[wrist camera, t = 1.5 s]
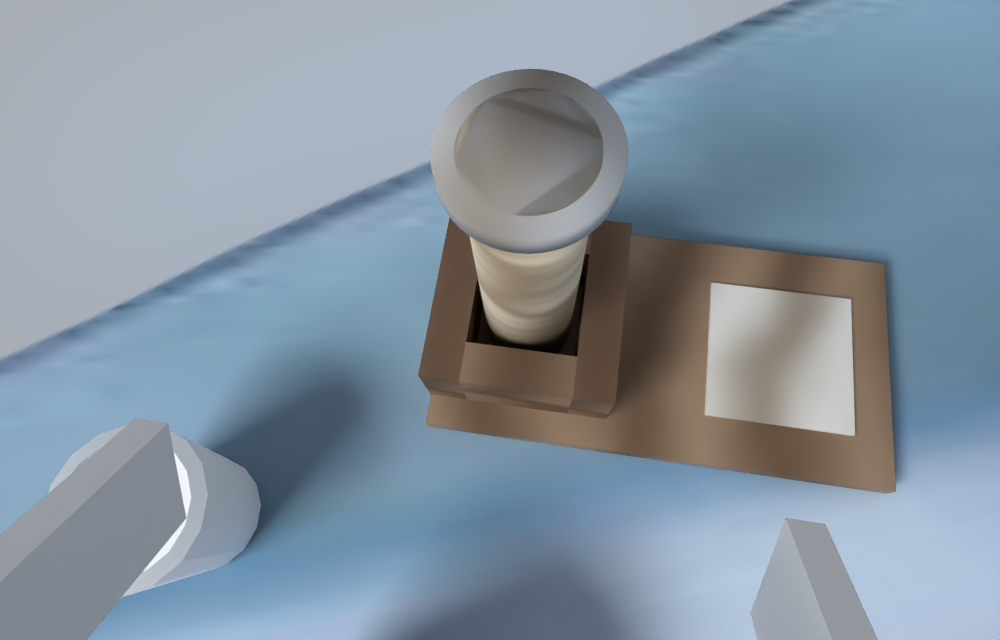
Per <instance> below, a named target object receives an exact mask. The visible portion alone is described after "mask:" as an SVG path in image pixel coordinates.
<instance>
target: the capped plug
mask: <svg viewBox="0 0 1000 640" xmlns="http://www.w3.org/2000/svg"><path fill="white" fill-rule="evenodd" d="M430 158H431V159H430V161H431V167H432V173H433V177H434V181H435V184H436V188H437V192H438V195H439V198H440V201H441V203H442V205H443V207H444V209H445V211H446V212H447V213H448V215H449V216H450V218H451V219H452V220H453V222H454V223H455V224H456V225H457V226H458V227H459V228H460V229H461V230H463V231H464V232H465V233H466V234H467V235H469V236H470V241H471V246H472V251H473V256H474V261H475V266H476V271H477V276H478V281H479V286H480V291H481V296H482V301H483V306H484V311H485V316H486V321H487V326H488V331H489V335H490V338H491V341H492V343H493V344H494V346H501V347H508V348H516V349H523V350H531V351H538V352H546V353H553V354H557V353H558V352H559V351H560V350H561V349H562V348H563V346H564V345H565V343H566V341H567V339H568V336H569V332H570V327H571V322H572V317H573V312H574V306H575V301H576V296H577V291H578V286H579V281H580V276H581V271H582V266H583V260H584V255H585V250H586V245H587V240H588V235H589V234H590V233H592V232H593V231H594V230H595V229H597V228H598V227H599V226H600V225H601V224H602V223H603V221H604V220H605V219H606V218H607V217H608V215H609V214H610V212H611V211H612V210H613V208H614V206H615V204H616V202H617V200H618V197H619V194H620V191H621V188H622V184H623V180H624V176H625V173H626V168H627V162H628V143H627V137H626V133H625V130H624V127H623V124H622V122H621V120H620V118H619V116H618V114H617V113H616V111H615V110H614V108H613V107H612V106H611V104H610V103H609V102H608V101H607V100H606V99H605V98H604V97H603V96H602V95H601V94H600V93H599V92H597V91H596V90H595V89H593V88H592V87H590V86H589V85H588V84H586V83H584V82H582V81H580V80H578V79H576V78H573V77H571V76H568V75H566V74H562V73H558V72H554V71H548V70H541V69H524V70H523V69H522V70H513V71H507V72H503V73H499V74H496V75H493V76H490V77H488V78H485V79H483V80H481V81H479V82H477V83H475V84H474V85H472V86H470V87H469V88H468V89H467V90H465V91H463V92H462V93H461V94H460V95H459V96H458V97H456V98H455V99H454V100H453V101H452V103H451V104H450V105H449V106H448V107H447V108H446V110H445V112H444V113H443V114H442V116H441V118H440V120H439V121H438V124H437V126H436V128H435V131H434V135H433V138H432V142H431V150H430Z"/></svg>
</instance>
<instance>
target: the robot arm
mask: <svg viewBox="0 0 1000 640" xmlns="http://www.w3.org/2000/svg"><path fill="white" fill-rule="evenodd" d="M185 519H186V513H185V508H184V503H183V498H182V493H181V487H180V482H179V477H178V472H177V467H176V461H175V456H174V451H173V446H172V440H171V435H170V430H169V425H168V423H164V422H157V421H151V420H144V419H138V418H135V419H134V420H133V421H132V422H130V423H129V424H128V425H127V426H126V427H125V428H123V429H122V430H121V431H120V432H119V433H118V434H117V435H115V436H114V437H113V438H112V439H111V440H110V441H108V442H107V443H106V444H105V445H104V446H103V447H102V448H100V449H99V450H98V451H97V452H96V453H95V454H93V455H92V456H91V457H90V458H89V459H88V460H87V461H85V462H84V463H83V464H82V465H81V466H80V467H78V468H77V469H76V470H75V471H74V472H73V473H72V474H70V475H69V476H68V477H67V478H66V479H65V480H63V481H62V482H61V483H60V484H59V485H58V486H57V487H55V488H54V489H53V490H52V491H51V492H50V493H48V494H47V495H46V496H45V497H44V498H43V499H42V500H40V501H39V502H38V503H37V504H36V505H35V506H33V507H32V508H31V509H30V510H29V511H28V512H27V513H25V514H24V515H23V516H22V517H21V518H20V519H19V520H17V521H16V522H15V523H14V524H13V525H12V526H10V527H9V528H8V529H7V530H6V531H5V532H4V533H2V534H1V535H0V640H87V639H88V638H89V636H90V635H91V634H92V633H93V631H94V630H95V629H96V628H97V627H98V625H99V624H100V623H101V622H102V621H103V619H104V618H105V617H106V616H107V614H108V613H109V612H110V611H111V610H112V608H113V607H114V606H115V605H116V603H117V602H118V601H119V600H120V599H121V597H122V596H123V595H124V594H125V592H126V591H127V590H128V589H129V588H130V586H131V585H132V584H133V583H134V582H135V580H136V579H137V578H138V577H139V575H140V574H141V573H142V572H143V571H144V569H145V568H146V567H147V566H148V564H149V563H150V562H151V561H152V560H153V558H154V557H155V556H156V555H157V553H158V552H159V551H160V550H161V549H162V547H163V546H164V545H165V544H166V542H167V541H168V540H169V539H170V538H171V536H172V535H173V534H174V533H175V532H176V530H177V529H178V528H179V527H180V525H181V524H182V523H183V522H184V521H185ZM751 616H752V620H753V624H754V628H755V632H756V636H757V639H758V640H878V639H877V637H876V635H875V632H874V630H873V628H872V626H871V624H870V621H869V619H868V617H867V615H866V613H865V610H864V608H863V606H862V604H861V602H860V599H859V597H858V595H857V593H856V591H855V588H854V586H853V584H852V582H851V580H850V577H849V575H848V573H847V571H846V569H845V566H844V564H843V562H842V560H841V558H840V555H839V553H838V551H837V549H836V547H835V544H834V542H833V540H832V538H831V536H830V533H829V531H828V529H827V527H826V525H825V524H821V523H814V522H808V521H801V520H795V519H788V518H786V519H785V521H784V524H783V527H782V530H781V532H780V535H779V538H778V540H777V543H776V546H775V548H774V551H773V554H772V556H771V559H770V562H769V564H768V567H767V570H766V573H765V575H764V578H763V581H762V583H761V586H760V589H759V591H758V594H757V597H756V599H755V602H754V605H753V608H752V610H751Z"/></svg>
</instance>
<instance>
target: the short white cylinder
mask: <svg viewBox="0 0 1000 640" xmlns="http://www.w3.org/2000/svg"><path fill="white" fill-rule="evenodd" d="M126 426H127V425H125V426H122V427H119V428H116V429H113V430H110V431H107V432H104V433H101V434H98V435H97V436H96V437H95V438H93V439H92V440H91V441H89V442H88V443H87V444H85V445H84V446H83V447H82V448H80V449H79V450H78V451H76V452H75V453H74V454H72V455H71V456H70V458H69V459H68V461H67V462H66V464H65V465H64V467H63V468H62V469H61V471H60V472H59V474H58V475H57V477H56V478H55V480H54V481H53V483H52V484H51V486H50V490H49V493H50V492H51V491H52V490H53V489H54V488H55V487H57V486H58V485H59V484H60V483H61V482H62V481H63V480H65V479H66V478H67V477H68V476H69V475H70V474H72V473H73V472H74V471H75V470H76V469H77V468H78V467H80V466H81V465H82V464H83V463H84V462H85V461H87V460H88V459H89V458H90V457H91V456H92V455H93V454H95V453H96V452H97V451H98V450H99V449H100V448H102V447H103V446H104V445H105V444H106V443H107V442H108V441H110V440H111V439H112V438H113V437H114V436H115V435H117V434H118V433H119V432H120V431H121V430H122V429H123V428H125V427H126ZM170 435H171V440H172V446H173V451H174V456H175V461H176V467H177V472H178V477H179V482H180V487H181V493H182V498H183V503H184V508H185V513H186V519H185V521H184V522H183V523H182V524H181V525H180V527H179V528H178V529H177V530H176V532H175V533H174V534H173V535H172V536H171V538H170V539H169V540H168V541H167V542H166V544H165V545H164V546H163V547H162V549H161V550H160V551H159V552H158V553H157V555H156V556H155V557H154V558H153V560H152V561H151V562H150V563H149V564H148V566H147V567H146V568H145V569H144V571H143V572H142V573H141V574H140V575H139V577H138V578H137V579H136V580H135V582H134V583H133V584H132V585H131V586H130V588H129V589H128V590H127V591H126V592H125V594H124V595H123V596H122V597H124V596H127V595H130V594H134V593H137V592H140V591H143V590H147V589H150V588H153V587H157V586H160V585H163V584H167V583H170V582H173V581H177V580H180V579H183V578H186V577H190V576H193V575H196V574H200V573H203V572H206V571H209V570H212V569H215V568H217V567H220V566H223V565H226V564H228V563H229V562H230V561H231V560H232V559H233V558H235V557H236V556H237V555H238V554H239V553H240V552H242V551H243V550H244V549H245V548H246V546H247V544H248V543H249V541H250V539H251V537H252V536H253V534H254V532H255V530H256V529H257V525H258V519H259V514H260V508H261V503H260V498H259V493H258V488H257V484H256V483H255V481H254V480H253V478H252V477H251V476H250V474H249V473H248V471H247V470H246V469H245V468H244V467H242V466H240V465H238V464H236V463H235V462H233V461H231V460H229V459H227V458H225V457H223V456H221V455H219V454H217V453H215V452H213V451H211V450H209V449H207V448H205V447H203V446H201V445H199V444H197V443H195V442H193V441H191V440H189V439H187V438H184V437H182V436H180V435H178V434H176V433H174V432H172V431H170Z"/></svg>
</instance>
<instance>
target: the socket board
mask: <svg viewBox="0 0 1000 640" xmlns="http://www.w3.org/2000/svg"><path fill="white" fill-rule="evenodd" d="M631 231H632V224H629V223H620V222H611V221H603V223H602V224H601V225H600V226H599V227H598V228H597V229H595V230H594V231H593V232H592V233H590V234H589V235H588V240H587V245H586V250H585V255H584V260H583V266H582V271H581V276H580V281H579V286H578V291H577V296H576V301H575V306H574V312H573V317H572V322H571V327H570V332H569V336H568V339H567V341H566V343H565V345H564V346H563V348H562V349H561V350H560V351H559V352H558V353H557V354H553V353H546V352H538V351H531V350H523V349H516V348H508V347H501V346H494V344H493V343H492V341H491V338H490V335H489V331H488V326H487V321H486V316H485V311H484V306H483V301H482V296H481V291H480V286H479V281H478V276H477V271H476V266H475V261H474V256H473V251H472V246H471V241H470V236H469V235H467V234H466V233H465V232H464V231H463V230H461V229H460V228H459V227H458V226H457V225H456V224H455V223H454V222H453V220H452V219H451V218H450V219H449V224H448V229H447V234H446V239H445V244H444V249H443V254H442V259H441V264H440V269H439V274H438V279H437V284H436V289H435V294H434V299H433V304H432V309H431V314H430V319H429V324H428V329H427V334H426V339H425V344H424V349H423V354H422V359H421V364H420V369H419V374H418V376H419V378H420V379H421V380H422V382H423V383H424V385H425V386H426V388H427V389H428V391H429V392H430V393H431V398H430V403H429V409H428V414H427V419H426V424H427V425H428V426H430V427H437V428H444V429H451V430H458V431H464V432H471V433H478V434H485V435H492V436H499V437H505V438H512V439H519V440H526V441H533V442H540V443H546V444H553V445H560V446H567V447H574V448H580V449H587V450H594V451H601V452H608V453H615V454H621V455H628V456H635V457H642V458H649V459H655V460H662V461H669V462H676V463H683V464H690V465H696V466H703V467H710V468H717V469H724V470H731V471H737V472H744V473H751V474H758V475H765V476H771V477H778V478H785V479H792V480H799V481H806V482H812V483H819V484H826V485H833V486H840V487H846V488H853V489H860V490H867V491H874V492H881V493H890V492H896V484H895V464H894V443H893V423H892V403H891V383H890V363H889V343H888V323H887V302H886V282H885V264H882V263H873V262H865V261H856V260H847V259H838V258H830V257H821V256H812V255H804V254H795V253H786V252H777V251H769V250H760V249H751V248H742V247H734V246H725V245H716V244H708V243H699V242H690V241H681V240H673V239H664V238H655V237H647V236H638V235H631Z"/></svg>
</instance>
